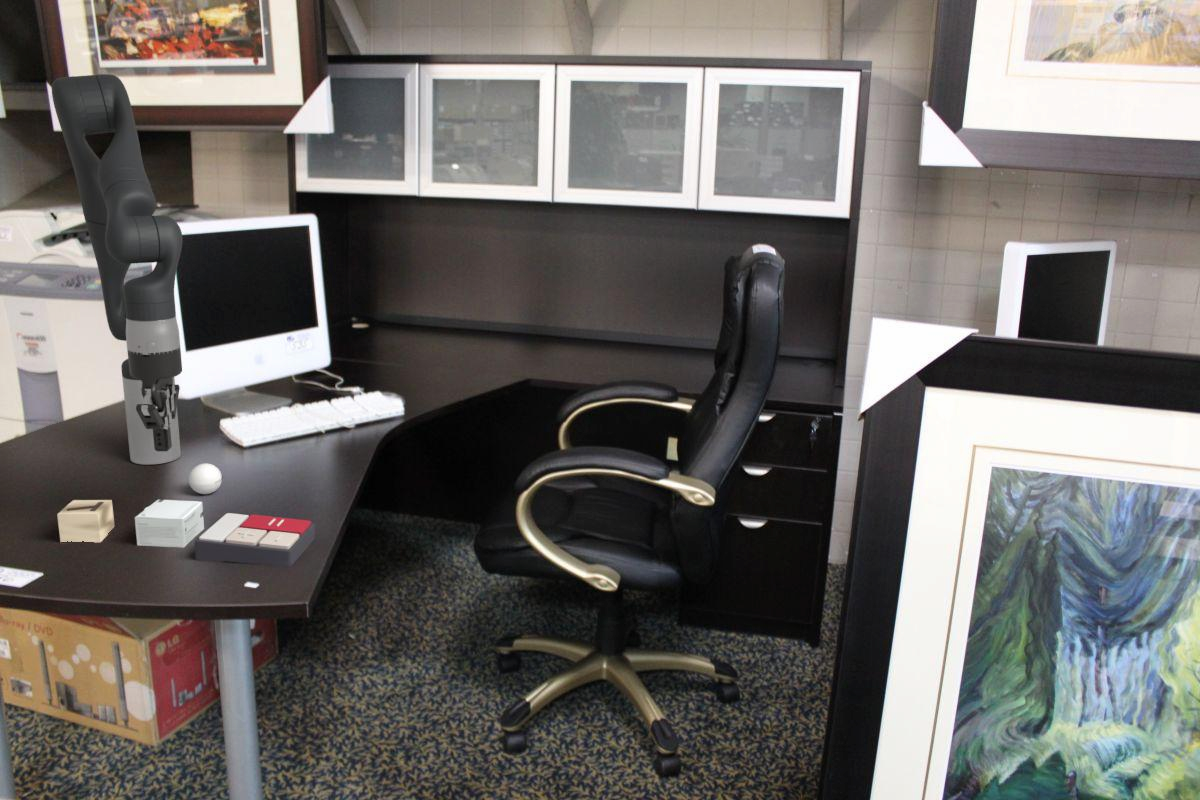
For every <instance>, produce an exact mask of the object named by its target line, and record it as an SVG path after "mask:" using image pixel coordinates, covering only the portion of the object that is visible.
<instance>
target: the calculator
mask: <svg viewBox="0 0 1200 800" xmlns="http://www.w3.org/2000/svg"><path fill="white" fill-rule="evenodd" d="M315 536H316V524H315V523H313V522H312V521H311V520H307V519H297V518H288V517H287V518H286V517H279V516H278V517H277V516H268V515H260V514H251V515H249V514H240V513H234V512H233V513H232V512H227V513H225V514H224V515H222V516H220V518H219V519H217V521H216V522H215V523H213V524H211V525H210V527H209V528H207V529H206V530H205V531H204V532H203V533H202V534H200V535H199V536H198V537H196V538H195V540H194V546H195V547H194V549H195V561H197V562H209V563H210V562H211V563H212V562H213V563H214V562H215V563H224V562H227V563H228V562H229V563H238V564H247V565H259V566H260V565H261V566H273V567H275V566H276V567H291V566H293V565H294V564H295V563H296V561H297V560H298V559H299V558H300V556H301V555H303V553H304V552H305V551H306V550H307V548H309V546H310V545H311V544H312V543H313V541H314V540H315V539H316V538H315Z"/></svg>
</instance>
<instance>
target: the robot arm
mask: <svg viewBox="0 0 1200 800" xmlns="http://www.w3.org/2000/svg"><path fill="white" fill-rule="evenodd" d="M51 97H52V102H53V106H54V109H55V114H56V117H57V120H58V123H59V124H58V125H59V126H60V127H59V128H60V129H61V132H62V135H63V139H64V142H65V145H66V148H67V152H68V155H69V159H70V161H71V164H72V167H73V171H74V176H75V179H76V184H77V188H78V193H79V198H80V199H79V200H80V204H81V208H82V213H83V217H84V221H85V224H86V229H87V233H88V236H89V239H90V243H91V247H92V251H93V254H94V257H95V261H96V264H97V270H98V274H99V278H100V285H101V290H102V297H103V304H104V309H105V310H104V311H105V316H106V320H107V325H108V328H109V331H110V333H111V335H112V337H114V338H115V339H116V340H118V341H125V342H126V349H127V358H126V359H125V360H123V362H122V363H121V366H120V367H121V377H122V389H123V399H124V408H125V420H126V428H127V439H128V450H129V458H130V462H132V463H134V464H137V465H145V466H147V465H159V464H165V463H170V462H174V461H176V460H177V459H179V458H180V457H181V456H182V455H181V445H180V444H181V442H180V430H179V417H178V403H179V402H178V401H179V394H180V389H181V387H180V384H176V381H175V380H176V379H175V377H177V376H180V374H181V373H182V372H183V367H182V366H183V365H182V364H183V363H182V362H183V361H182V352H181V351H182V350H181V342H180V341H181V340H180V329H179V325H178V320H177V314H176V313H177V312H176V300H175V298H176V297H175V285H176V284H175V283H176V282H175V281H176V274H177V270H178V265H179V261H180V258H181V253H182V248H183V234H182V233H183V232H182V230H181V227H180V226H179V224H178V222H177V221H176V220H175V219H174V218H172V217H170V216H168V215H154V214H155V212H156V209H157V201H156V198H155V194H154V192H153V189H152V186H151V184H150V180H149V178H148V175H147V173H146V171H145V170H146V169H145V166H144V162H143V157H142V152H141V151H142V149H141V145H140V141H139V134H138V129H137V125H136V121H135V116H134V112H133V108H132V103H131V101H130V97H129V94H128V92H127V89H126V86H125V84H124V82H123V81H122V80H121V79H120V78H119V77H118V76H116V75H115V74H109V73H108V74H107V73H106V74H105V73H104V74H103V73H102V74H91V75H79V76H78V75H77V76H73V75H72V76H64V77H58V78H56V79H54V80H53V82H52V83H51ZM107 133H114V136H113V137H112V139H111V142H110V144H109V146H108V147H107V148H106V150H105V151H104V153H103V155H102V156H101V159H100V158H99V156H98V155H96V153H95V152H94V150H93V149H92V148H91V146H90V145H89V143H88V141H87V139H86V136H89V135H100V134H107ZM148 263H156V264H155V266H154V268H153V269H152V271H151V272H150V273H148V274H145V275H143V276H140V277H139V276H138V277H135V278H132V279H129V280H127V281H126V282H125V278H126V275H127V273H128V271H129V268H130V266H131V264H148Z"/></svg>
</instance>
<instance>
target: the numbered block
mask: <svg viewBox="0 0 1200 800" xmlns="http://www.w3.org/2000/svg"><path fill="white" fill-rule="evenodd" d="M57 524H58V532H59V541H60V543H61V542H67V541H68V542H71V541H72V542H82V541H84V542H94V543H102V542H103V541H104V539H105V538H107V537H108V535H109V534H110V533H111V532H112V531H113V530H114V529H115V528H114V527H115V518H114V509H113V500H112V499H73V500H72V501H70V503H68V504H67V505H66V506H64V508H62V509H61V510H60V511H59V512H58V513H57ZM113 528H114V529H113ZM112 529H113V530H112ZM111 530H112V531H111ZM110 531H111V532H110ZM109 532H110V533H109ZM108 533H109V534H108Z"/></svg>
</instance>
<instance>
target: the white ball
mask: <svg viewBox="0 0 1200 800" xmlns="http://www.w3.org/2000/svg"><path fill="white" fill-rule="evenodd" d="M222 479H223V475H222V472H221V471H220V469H219V468H218V467H217V466H215V465H214V464H212V463H206V462H204V463H203V462H202V463H200V464H198V465H195V466H194V467H193V469H191V470H190V473H189V477H188V483H189V487H190V488H191V489H192V490H193V491H194V492H196V493H197V494H200V495H210V494H212V493H214V492H216V491H217V490H218V489H219V488H220V486H221V484H222V481H223V480H222Z"/></svg>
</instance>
